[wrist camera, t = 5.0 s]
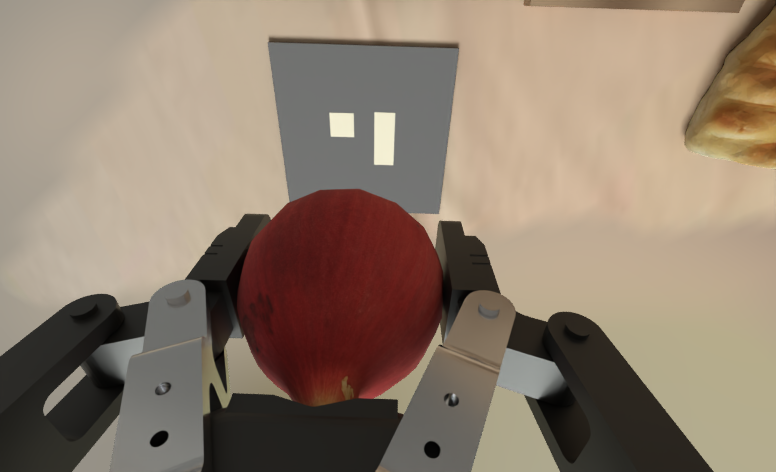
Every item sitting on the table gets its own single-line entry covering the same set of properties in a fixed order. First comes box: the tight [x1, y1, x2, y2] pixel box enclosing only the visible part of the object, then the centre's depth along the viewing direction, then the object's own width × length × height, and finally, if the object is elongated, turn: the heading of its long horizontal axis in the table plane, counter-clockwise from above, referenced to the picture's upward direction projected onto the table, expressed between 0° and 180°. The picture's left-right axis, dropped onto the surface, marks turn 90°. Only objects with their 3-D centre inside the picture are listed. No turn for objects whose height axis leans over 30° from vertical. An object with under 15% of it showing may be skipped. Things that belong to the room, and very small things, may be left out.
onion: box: [237, 189, 443, 407], centre depth 11 cm, size 6×6×8 cm
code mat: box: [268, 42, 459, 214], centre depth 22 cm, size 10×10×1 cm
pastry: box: [684, 5, 776, 169], centre depth 18 cm, size 9×7×4 cm
